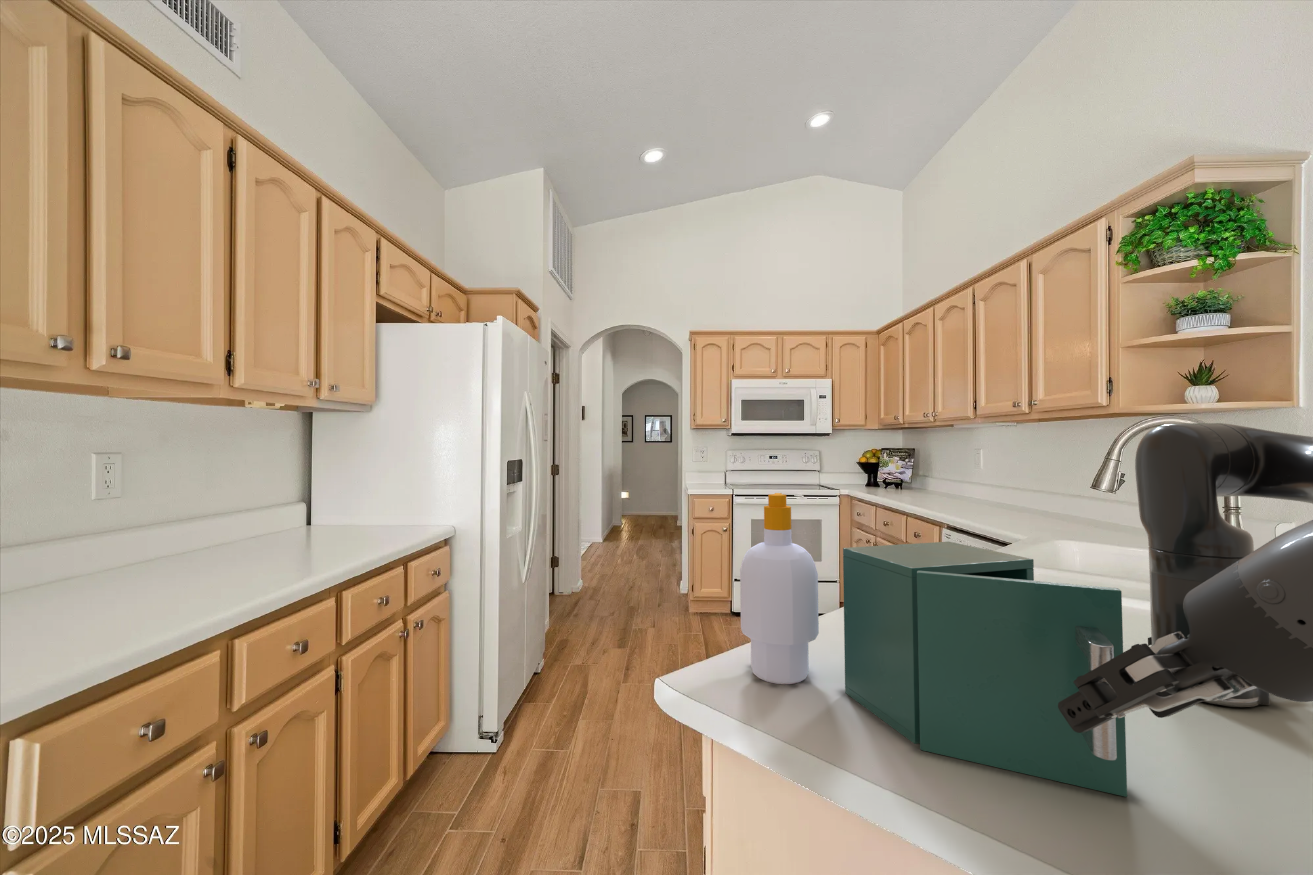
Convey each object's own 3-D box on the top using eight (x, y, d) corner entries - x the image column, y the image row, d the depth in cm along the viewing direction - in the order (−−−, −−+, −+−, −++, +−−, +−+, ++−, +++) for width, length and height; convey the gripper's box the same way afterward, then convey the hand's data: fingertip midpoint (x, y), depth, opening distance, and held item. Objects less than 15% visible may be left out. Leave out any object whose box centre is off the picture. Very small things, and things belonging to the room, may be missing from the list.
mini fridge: (1037, 723, 58) (1033, 559, 59) (914, 745, 54) (911, 568, 55) (951, 678, 70) (948, 541, 70) (844, 693, 66) (842, 547, 66)
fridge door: (1149, 837, 41) (1142, 606, 41) (918, 779, 48) (915, 584, 49) (1123, 790, 47) (1118, 587, 47) (920, 745, 54) (917, 570, 54)
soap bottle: (818, 663, 75) (815, 492, 76) (820, 695, 65) (817, 498, 66) (745, 656, 78) (743, 491, 79) (736, 686, 68) (734, 497, 69)
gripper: (1303, 686, 27) (1076, 780, 38) (1467, 656, 30) (1217, 750, 41) (1174, 559, 32) (1007, 674, 43) (1327, 547, 36) (1137, 655, 46)
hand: (1110, 711), depth 42 cm, fingers open, 8 cm apart
